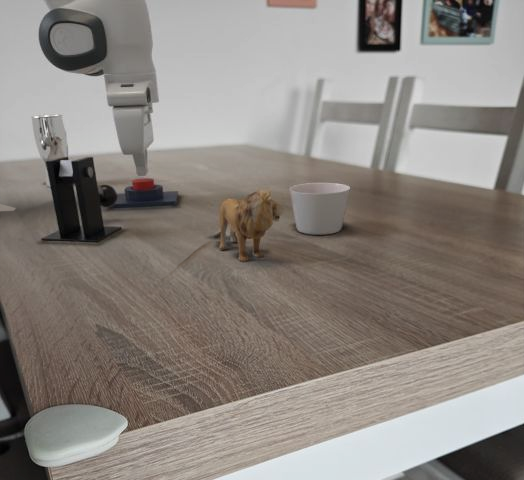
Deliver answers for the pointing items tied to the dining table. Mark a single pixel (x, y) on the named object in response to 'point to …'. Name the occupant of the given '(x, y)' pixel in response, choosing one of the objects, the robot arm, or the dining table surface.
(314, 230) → the white ramekin
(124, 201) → the button box
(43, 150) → the beer glass
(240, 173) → the dining table surface
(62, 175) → the lever
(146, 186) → the button
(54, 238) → the bracket
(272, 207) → the lion figurine
